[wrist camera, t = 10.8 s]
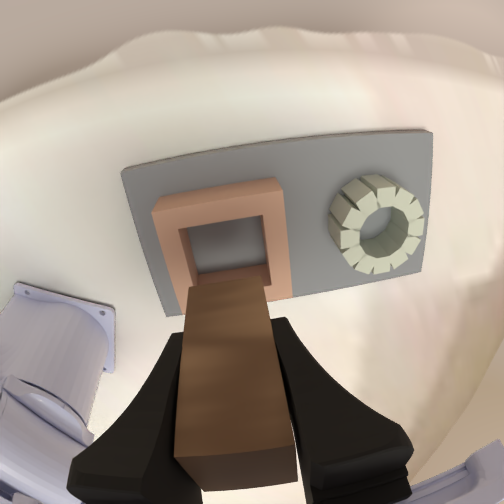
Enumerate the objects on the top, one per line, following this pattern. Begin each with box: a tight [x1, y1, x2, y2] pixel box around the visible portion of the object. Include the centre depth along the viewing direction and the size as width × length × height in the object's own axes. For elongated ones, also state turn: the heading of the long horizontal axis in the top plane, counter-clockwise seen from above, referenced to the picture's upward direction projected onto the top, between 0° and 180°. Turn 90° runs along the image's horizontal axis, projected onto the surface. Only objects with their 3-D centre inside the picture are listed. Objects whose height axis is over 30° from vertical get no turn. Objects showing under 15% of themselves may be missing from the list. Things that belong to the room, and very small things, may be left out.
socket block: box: [121, 130, 433, 317], centre depth 20 cm, size 20×11×4 cm, turn 98°
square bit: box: [174, 276, 298, 492], centre depth 11 cm, size 3×3×8 cm
